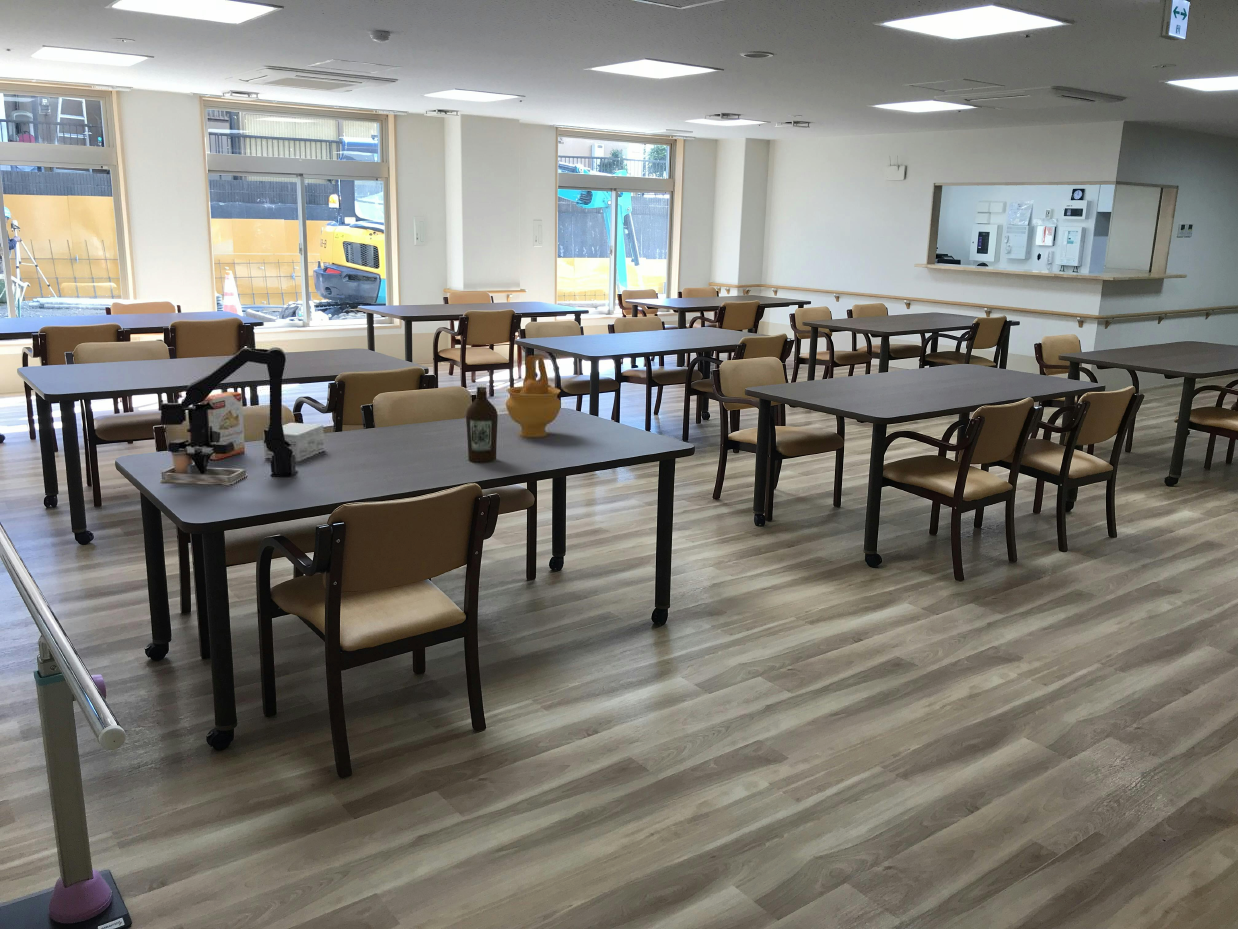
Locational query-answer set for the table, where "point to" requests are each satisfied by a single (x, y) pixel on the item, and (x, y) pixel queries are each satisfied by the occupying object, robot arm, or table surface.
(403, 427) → the table surface
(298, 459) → the supplement box
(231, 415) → the cracker box
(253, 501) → the table surface
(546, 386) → the decorative bowl
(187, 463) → the jar
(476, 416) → the olive oil
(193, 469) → the pusher plate
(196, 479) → the shallow rectangular tray
